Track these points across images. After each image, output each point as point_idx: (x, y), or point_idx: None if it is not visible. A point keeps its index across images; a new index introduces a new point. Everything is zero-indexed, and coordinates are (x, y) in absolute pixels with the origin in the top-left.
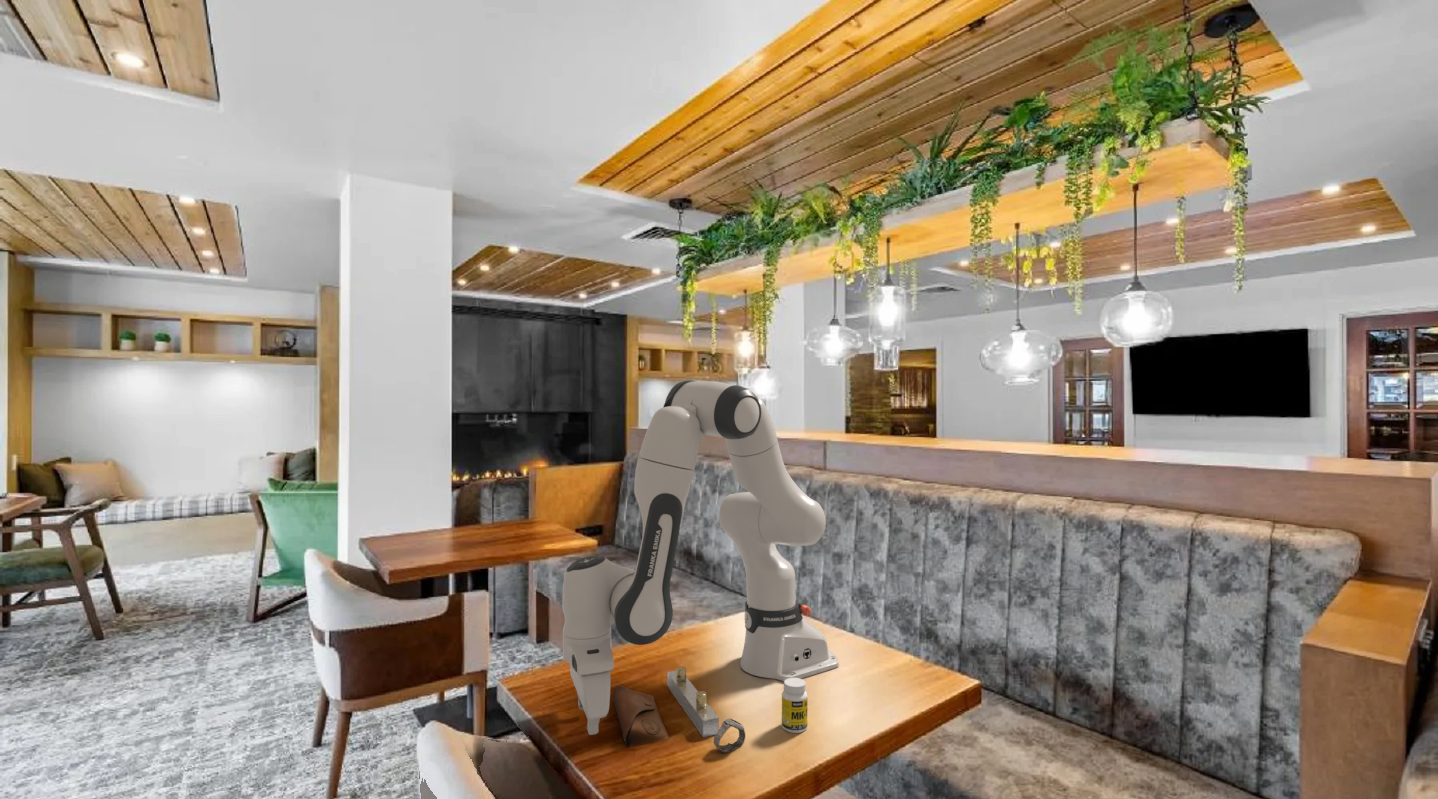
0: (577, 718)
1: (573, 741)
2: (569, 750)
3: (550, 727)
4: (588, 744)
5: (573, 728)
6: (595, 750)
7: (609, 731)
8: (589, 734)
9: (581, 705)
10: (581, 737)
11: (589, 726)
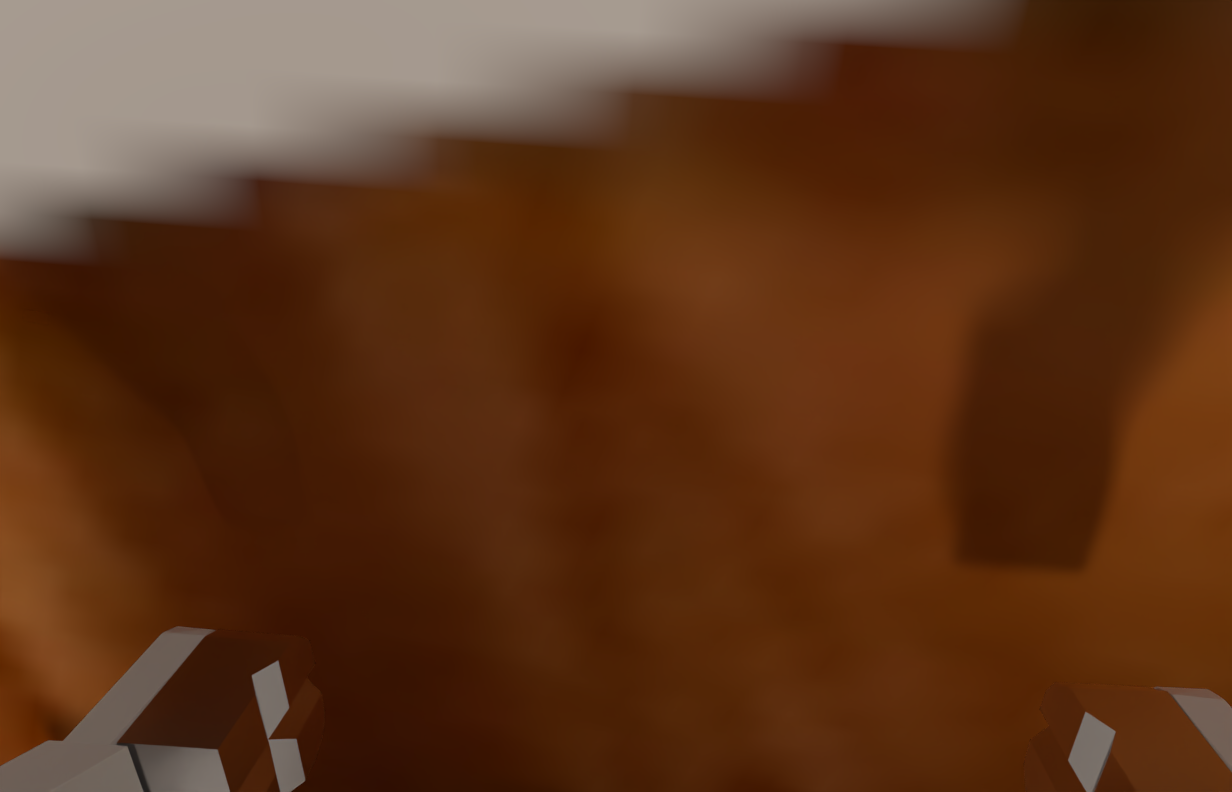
0: (1038, 546)
1: (371, 369)
2: (126, 270)
3: (1008, 74)
4: (243, 528)
5: (758, 439)
6: (87, 568)
7: (487, 779)
8: (176, 630)
9: (1106, 764)
10: (450, 487)
11: (86, 736)
